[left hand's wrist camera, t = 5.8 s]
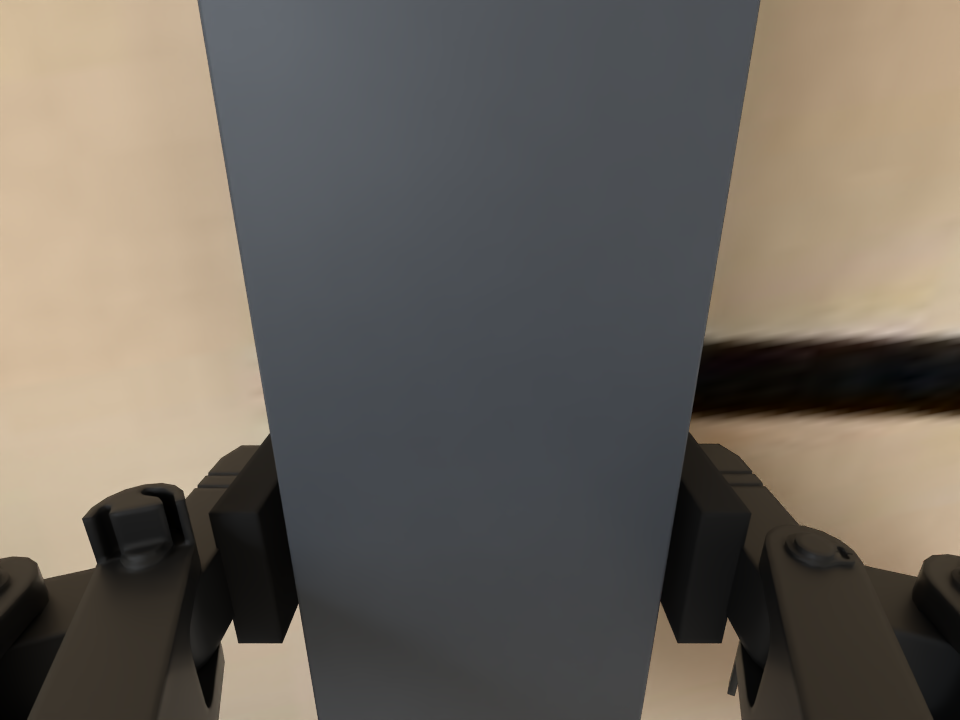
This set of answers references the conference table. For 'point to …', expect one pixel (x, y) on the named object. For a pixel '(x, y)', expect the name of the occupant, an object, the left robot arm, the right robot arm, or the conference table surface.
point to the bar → (479, 327)
